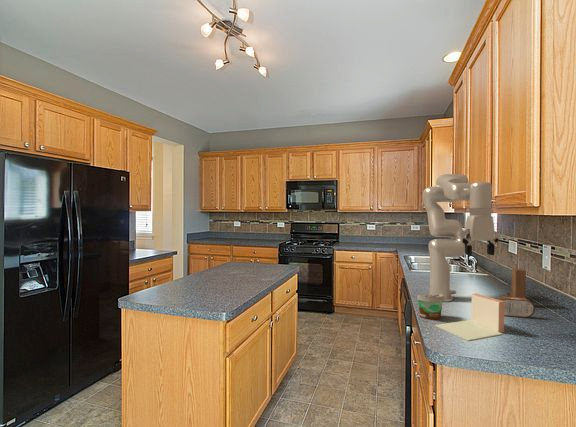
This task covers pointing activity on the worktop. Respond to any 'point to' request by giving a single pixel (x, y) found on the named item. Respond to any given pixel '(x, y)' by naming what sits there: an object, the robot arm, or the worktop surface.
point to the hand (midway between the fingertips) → (479, 254)
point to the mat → (468, 330)
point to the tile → (488, 312)
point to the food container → (430, 306)
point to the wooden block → (518, 283)
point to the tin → (517, 307)
